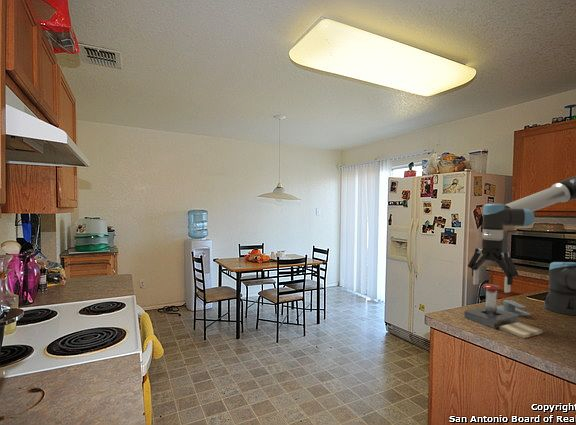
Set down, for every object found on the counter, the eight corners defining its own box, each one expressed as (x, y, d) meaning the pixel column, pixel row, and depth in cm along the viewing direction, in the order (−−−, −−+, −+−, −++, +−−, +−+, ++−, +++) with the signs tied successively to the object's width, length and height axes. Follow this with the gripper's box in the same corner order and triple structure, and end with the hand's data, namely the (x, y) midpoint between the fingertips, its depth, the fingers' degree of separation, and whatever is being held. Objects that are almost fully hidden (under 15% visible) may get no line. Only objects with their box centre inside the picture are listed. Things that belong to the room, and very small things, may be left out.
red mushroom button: (488, 316, 138) (489, 283, 138) (502, 321, 133) (503, 286, 132) (479, 318, 136) (480, 284, 135) (493, 323, 130) (494, 288, 130)
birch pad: (517, 324, 129) (518, 321, 129) (542, 333, 121) (542, 330, 121) (499, 329, 124) (499, 326, 124) (524, 338, 116) (524, 335, 116)
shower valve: (510, 307, 136) (486, 296, 151) (510, 319, 136) (486, 307, 151) (537, 306, 137) (510, 296, 152) (537, 318, 137) (510, 307, 152)
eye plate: (488, 312, 143) (488, 306, 143) (518, 322, 131) (518, 315, 131) (464, 317, 137) (464, 310, 137) (494, 328, 125) (494, 321, 125)
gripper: (460, 236, 143) (458, 281, 144) (518, 242, 120) (516, 296, 121) (471, 236, 146) (469, 280, 147) (529, 242, 123) (527, 294, 124)
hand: (490, 288), depth 134 cm, fingers open, 13 cm apart
